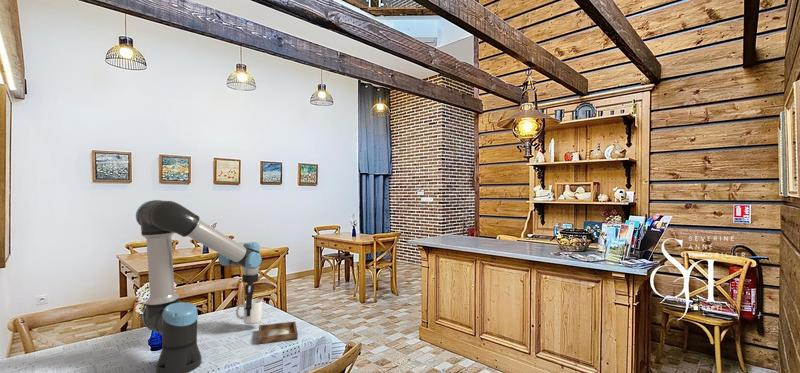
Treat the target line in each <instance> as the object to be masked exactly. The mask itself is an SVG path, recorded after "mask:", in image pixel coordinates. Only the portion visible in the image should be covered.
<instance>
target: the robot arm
mask: <svg viewBox="0 0 800 373" xmlns="http://www.w3.org/2000/svg"><path fill="white" fill-rule="evenodd" d="M135 220H136V222H137V223H138V225H139V226H140V233H141V236H142V237H143V238H145V239H146V254H147V270H148V272H147V273H148V284H149V286H148V287H149V297H148V299H146V301H145V307H144V309H143V310H142V313H141V320H142V323H143V325H145V327H146V328H147V329H149V330H150V331H152V332H155V333H157V334H159V335H161V336H162V338H161V340H162V345H161V346H162V347H161V348H162V349H161V352H160V355H159V357H158V359H157V362H156V369H155V371H156V373H188V372H191V371H193V370H195V369H197V368H198V367H200V366H201V364H202V354H201V351H200V348H199V346H198V317H199V315H198V308H197V306H196V305H195V304H194V303H192V302H191V303H190V302H182V301H180V295H179V294H177V293H176V291H175V277H174V262H173V261H174V259H173V256H174V255H173V241H172V239H173V238H172V237H173V235H174V234H177V235H179V236H181V237H183V238H185V237H189V239H190V238H191V239H192V240H194V241H196V242H198V243H200V244H202V245H203V246H205V247H207V248H209V249H210V250H212V251H214V252H216V253H218V259H217V260H218V262H219V264H220V265H221V266H222V267H223V266H236V267H242V269H241V270H242V277H241V282H242V283H245V284H246V285H245V295H246V297H245V299H246V300H245V301H246V308H244V307H243V311H244V310H246V314H245V323H249V322H251V315H252V307H251V306H252V299H253V297H254V296H253V295H254V291H255V284H254V283H257V282H258V281H259V271H260V270H259V269H261V266H260V265H261V263H262V255H261V254H260V252H261V251H260V243H258V242H253V241H250V242H245V243H243V245H242V244H240V243H239V242H237V241H235V240H234V239H232V238H230V237H228V236H227V235H225V234H224V233H221V232H220V231H219V230H217V229H215V228H214V227H212V226H210V224H209V225H208V224H207V223H206V222H204V221H202V220H201V218H200V216H199V215H198V214H195V213H194V212H192V211H191V210H190V209H188V208H186V206H184V205H182V204H180V203H178V202H176V201H172V200H161V199H159V200H158V199H155V200H153V199H152V200H149V201H145V202H144V203H142V204H141V205H140V206H139V207H138V208H137V209H136V212H135ZM247 306H248V307H247ZM245 323H244V324H245Z"/></svg>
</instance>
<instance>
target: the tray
mask: <svg viewBox="0 0 800 373" xmlns="http://www.w3.org/2000/svg"><path fill="white" fill-rule="evenodd" d="M298 335H299V334H298V329H297V324H296V321H287V322H278V323H268V324H259V325H258V336H257V337H258V339H257V340H258V342H257V343H258V345H265V344H272V343H273V344H274V343H281V341H283V342H291V341H296V340H299V338H298ZM290 340H291V341H290Z"/></svg>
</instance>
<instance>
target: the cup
mask: <svg viewBox="0 0 800 373" xmlns="http://www.w3.org/2000/svg"><path fill="white" fill-rule="evenodd" d="M247 307H248V306H247ZM251 307H252V315H251V322H249V323H245V314H246V310H244V308H246V300H244V304H243V303H241V304H238V305H237V307H236V309H235V315H236V318H237V319H239V320H243V324H245V325H256V324H259V323H261V322H262V313H263V312H262V311H263V300H262V299H257V298H255V299H254V298H252V306H251ZM240 308H243V316H241V315H239V310H240Z"/></svg>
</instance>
